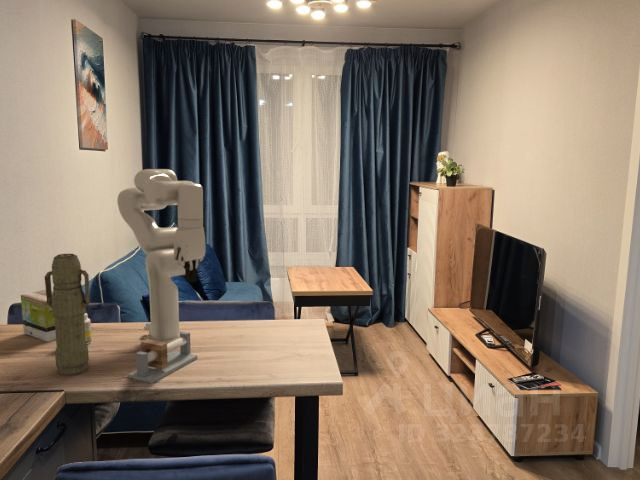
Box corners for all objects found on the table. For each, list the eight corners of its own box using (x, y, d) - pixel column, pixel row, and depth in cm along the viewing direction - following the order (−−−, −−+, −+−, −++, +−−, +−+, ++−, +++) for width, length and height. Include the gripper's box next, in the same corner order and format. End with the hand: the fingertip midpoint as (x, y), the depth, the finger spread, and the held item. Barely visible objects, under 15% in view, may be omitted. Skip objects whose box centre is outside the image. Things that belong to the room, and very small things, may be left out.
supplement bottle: (74, 341, 181) (72, 312, 179) (91, 339, 183) (90, 311, 181) (73, 346, 176) (71, 317, 174) (91, 344, 178) (90, 315, 176)
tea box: (22, 334, 187) (19, 294, 185) (49, 327, 196) (46, 288, 193) (47, 342, 179) (44, 300, 177) (74, 334, 188) (71, 294, 186)
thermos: (55, 365, 160) (47, 252, 154) (96, 363, 162) (90, 251, 157) (46, 377, 151) (38, 258, 146) (90, 374, 154) (83, 257, 148)
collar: (141, 364, 156) (141, 341, 155) (147, 362, 158) (146, 339, 157) (162, 369, 153) (161, 345, 152) (167, 366, 155) (166, 343, 154)
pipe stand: (127, 377, 152) (126, 351, 151) (176, 353, 171) (175, 330, 170) (152, 383, 148) (151, 357, 147) (198, 357, 168) (198, 334, 166)
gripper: (197, 219, 170) (197, 274, 173) (163, 225, 157) (164, 284, 160) (215, 222, 166) (215, 278, 170) (183, 228, 153) (183, 288, 157)
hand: (190, 281), depth 165 cm, fingers closed
